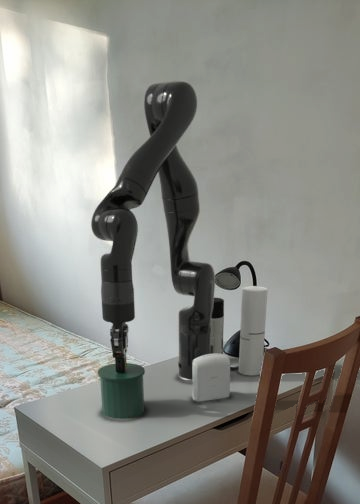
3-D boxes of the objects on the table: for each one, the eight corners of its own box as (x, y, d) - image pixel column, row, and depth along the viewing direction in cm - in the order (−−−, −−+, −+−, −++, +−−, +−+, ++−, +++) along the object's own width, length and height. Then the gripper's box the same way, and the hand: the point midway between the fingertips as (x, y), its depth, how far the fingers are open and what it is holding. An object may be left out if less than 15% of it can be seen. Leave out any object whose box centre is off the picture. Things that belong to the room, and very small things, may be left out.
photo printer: (195, 404, 138) (195, 359, 133) (189, 398, 142) (190, 354, 137) (231, 399, 141) (233, 354, 136) (225, 393, 145) (226, 349, 140)
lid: (125, 364, 137) (124, 343, 135) (154, 375, 130) (153, 353, 127) (88, 375, 130) (87, 352, 128) (117, 387, 122) (116, 364, 120)
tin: (126, 400, 141) (124, 362, 136) (152, 412, 134) (151, 372, 130) (94, 411, 134) (91, 372, 130) (119, 424, 127) (117, 383, 123)
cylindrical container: (261, 376, 157) (266, 291, 147) (237, 374, 158) (241, 290, 148) (262, 368, 163) (268, 286, 153) (239, 366, 165) (243, 285, 155)
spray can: (225, 364, 167) (227, 301, 159) (205, 366, 165) (206, 302, 157) (218, 357, 173) (220, 296, 165) (198, 359, 171) (199, 297, 163)
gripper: (131, 306, 116) (133, 380, 123) (136, 293, 129) (139, 360, 136) (96, 306, 116) (101, 380, 123) (106, 293, 129) (110, 360, 136)
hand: (121, 369), depth 129 cm, fingers closed on lid, 2 cm apart
